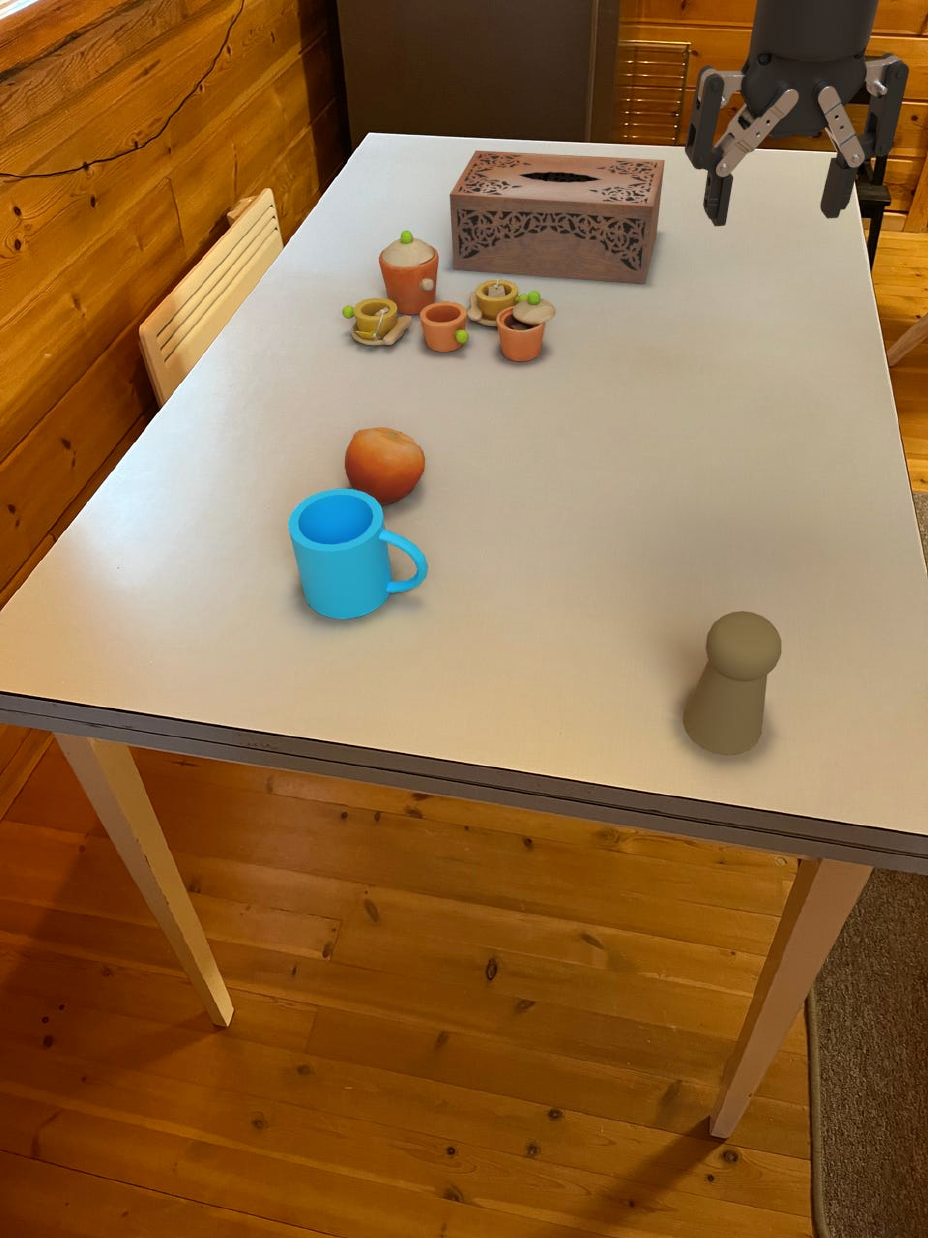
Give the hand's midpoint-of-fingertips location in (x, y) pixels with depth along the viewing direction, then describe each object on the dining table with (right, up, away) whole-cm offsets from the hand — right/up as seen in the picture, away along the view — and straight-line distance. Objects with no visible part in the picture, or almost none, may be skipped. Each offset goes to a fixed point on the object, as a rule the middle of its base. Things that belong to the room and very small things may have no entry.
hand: (773, 217), depth 70 cm
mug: (-32, -28, +15) cm, 45 cm away
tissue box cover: (-11, +20, +58) cm, 62 cm away
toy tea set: (-24, +6, +45) cm, 52 cm away
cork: (-3, -39, +3) cm, 39 cm away
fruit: (-31, -17, +24) cm, 43 cm away
